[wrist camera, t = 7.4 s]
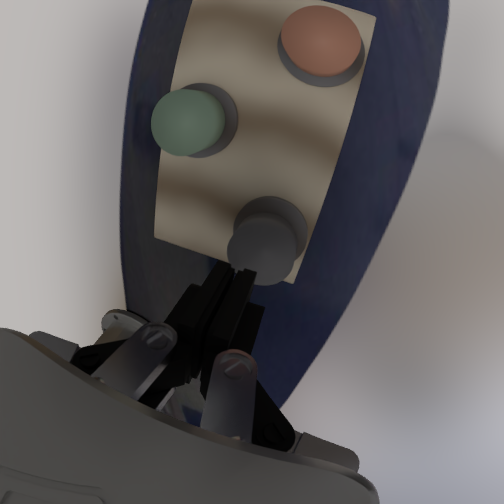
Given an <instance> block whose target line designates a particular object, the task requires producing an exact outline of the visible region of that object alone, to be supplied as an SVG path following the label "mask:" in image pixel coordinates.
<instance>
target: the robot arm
mask: <svg viewBox="0 0 504 504" xmlns="http://www.w3.org/2000/svg"><path fill="white" fill-rule="evenodd" d="M234 273H235V269H234V268H231V264H230V263H227V262H224V261H220V260H218V262H217V263H216V265H215V266H214V268H213V269H212V271H211V272H210V274H209V275H208V277H207V278H206V280H205V281H204V283H203V284H202V286H199V285H196V284H193V283H192V284H191V285H190V286H189V287H188V288H187V290H186V291H185V293H184V294H183V295H182V297H181V298H180V300H179V301H178V303H177V304H176V305H175V307H174V308H173V310H172V311H171V313H170V314H169V315H168V317H167V318H166V320H165V321H164V323H163V322H157V321H156V322H149V323H148V322H147V321H146V320H144V319H143V318H141V317H139V316H138V315H136V314H133V313H131V312H128V311H125V310H120V309H113V310H110V311H108V312H107V313H106V315H104V317H103V318H102V330H103V334H102V335H101V336H100V338H99V339H98V340H97V341H96V342H95V344H94V345H90V346H86V347H83V348H80V347H79V345H78V344H75V343H73V342H70V341H67V340H64V339H61V338H58V337H55V336H53V335H50V334H47V333H45V332H41V331H37V332H33V333H31V334H30V335H29V336H28V335H26V334H23V333H21V332H18V331H15V330H11V329H7V328H0V504H379V497H378V493H377V490H376V489H375V487H374V485H373V484H372V483H371V482H370V481H369V480H368V479H366V478H365V477H363V476H362V475H360V474H358V473H357V472H358V469H359V459H358V456H357V455H356V454H355V453H354V452H353V451H352V450H350V449H348V448H344V447H342V446H339V445H336V444H334V443H331V442H328V441H326V440H323V439H320V438H317V437H315V436H312V435H310V434H308V433H305V432H304V433H303V434H302V433H300V432H297V431H295V430H294V429H293V427H292V425H291V424H290V423H289V422H288V420H287V419H286V418H285V416H284V415H283V414H282V413H281V411H280V410H279V409H278V407H277V406H276V405H275V403H274V402H273V401H272V399H271V398H270V397H269V395H268V394H267V393H266V391H265V390H264V388H263V387H262V386H261V384H260V383H259V382H258V380H257V364H256V362H255V360H254V359H253V358H252V357H251V356H250V355H251V352H252V349H253V345H254V342H255V339H256V336H257V332H258V329H259V326H260V323H261V319H262V316H263V313H264V309H265V307H263V306H260V305H257V304H253V303H250V302H249V301H250V297H251V293H252V290H253V286H254V282H255V279H256V275H257V272H256V271H252V270H249V269H246V268H244V270H243V271H241V270H238V272H237V274H236V276H235V278H234ZM233 278H234V280H233ZM200 371H201V377H200V381H201V386H200V392H201V394H202V395H203V397H204V399H205V406H204V410H203V415H202V420H201V425H200V428H199V427H196V426H194V425H191V424H188V423H186V422H183V421H181V420H178V419H176V418H173V417H171V416H168V415H166V414H164V413H161V412H159V411H160V410H161V409H162V407H163V406H164V405H165V403H166V402H167V401H168V399H169V398H170V397H171V396H172V394H173V393H174V391H175V389H176V387H178V386H181V385H184V384H185V383H188V384H189V383H190V381H191V379H192V378H195V379H197V377H198V375H199V373H200Z"/></svg>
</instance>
